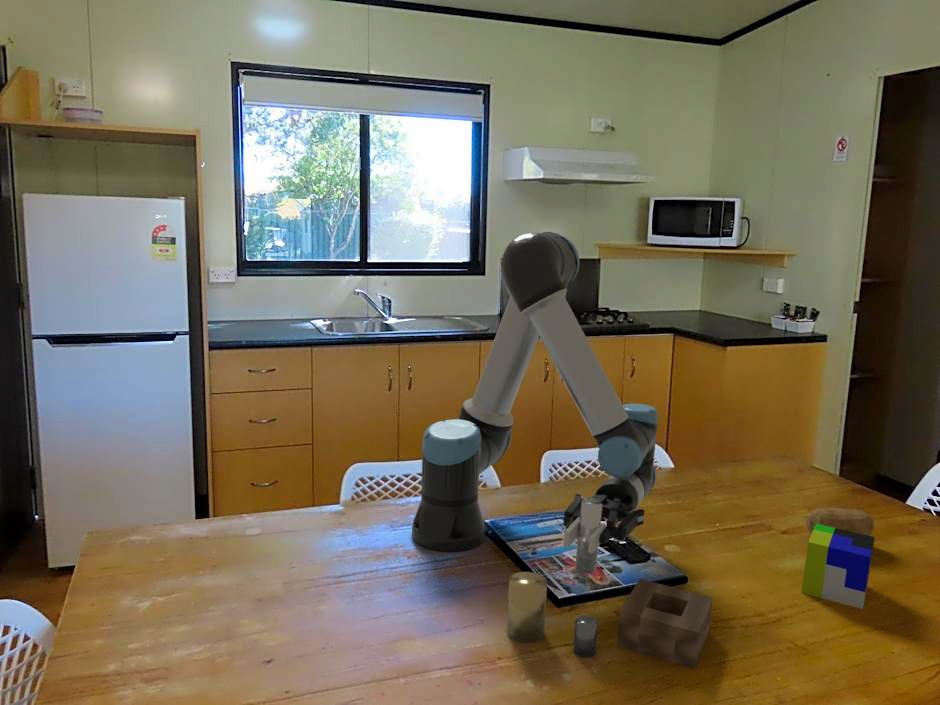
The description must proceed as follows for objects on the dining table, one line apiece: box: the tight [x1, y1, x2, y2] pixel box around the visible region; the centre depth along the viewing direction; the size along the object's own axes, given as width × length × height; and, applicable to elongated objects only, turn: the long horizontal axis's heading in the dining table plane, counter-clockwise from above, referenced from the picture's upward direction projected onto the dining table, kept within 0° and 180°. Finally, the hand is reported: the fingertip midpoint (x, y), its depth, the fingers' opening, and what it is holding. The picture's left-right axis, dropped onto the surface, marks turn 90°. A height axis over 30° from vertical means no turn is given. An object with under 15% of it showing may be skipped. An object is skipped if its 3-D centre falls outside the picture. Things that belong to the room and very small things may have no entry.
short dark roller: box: [572, 615, 599, 659], centre depth 115 cm, size 4×4×5 cm
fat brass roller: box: [506, 571, 548, 644], centre depth 119 cm, size 6×6×9 cm
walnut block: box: [616, 578, 714, 670], centre depth 119 cm, size 12×12×6 cm
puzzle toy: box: [801, 524, 875, 610], centre depth 137 cm, size 10×10×10 cm
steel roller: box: [574, 498, 602, 574], centre depth 126 cm, size 4×4×12 cm
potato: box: [806, 507, 875, 536], centre depth 156 cm, size 10×14×8 cm
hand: (578, 542), depth 121 cm, fingers closed on steel roller, 3 cm apart
